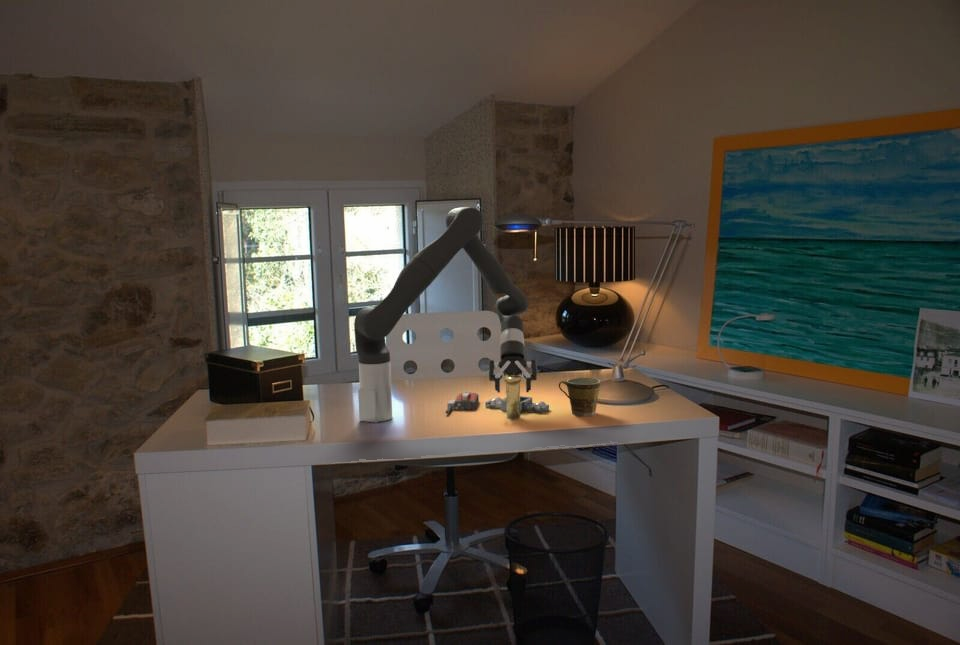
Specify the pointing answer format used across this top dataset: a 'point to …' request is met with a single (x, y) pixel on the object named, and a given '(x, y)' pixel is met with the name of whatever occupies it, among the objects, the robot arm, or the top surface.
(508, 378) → the link pin
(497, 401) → the chain end
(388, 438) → the top surface
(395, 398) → the top surface
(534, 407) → the chain end
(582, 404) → the ceramic cup
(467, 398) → the walkie-talkie
